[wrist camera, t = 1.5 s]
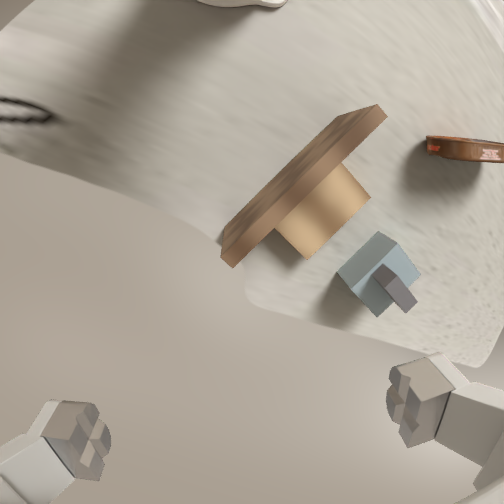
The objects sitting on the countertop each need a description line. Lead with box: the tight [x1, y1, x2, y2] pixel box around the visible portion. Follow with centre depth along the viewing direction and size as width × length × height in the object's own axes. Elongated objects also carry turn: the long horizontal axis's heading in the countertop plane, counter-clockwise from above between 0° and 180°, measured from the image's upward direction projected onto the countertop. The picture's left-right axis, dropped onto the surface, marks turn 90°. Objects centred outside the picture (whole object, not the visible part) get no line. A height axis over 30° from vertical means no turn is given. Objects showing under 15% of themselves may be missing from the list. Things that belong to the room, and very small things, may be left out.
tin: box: [426, 136, 504, 163], centre depth 34 cm, size 15×3×8 cm, turn 96°
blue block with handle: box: [337, 231, 421, 317], centre depth 38 cm, size 8×6×10 cm
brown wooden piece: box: [221, 104, 388, 268], centre depth 34 cm, size 20×10×12 cm, turn 135°
